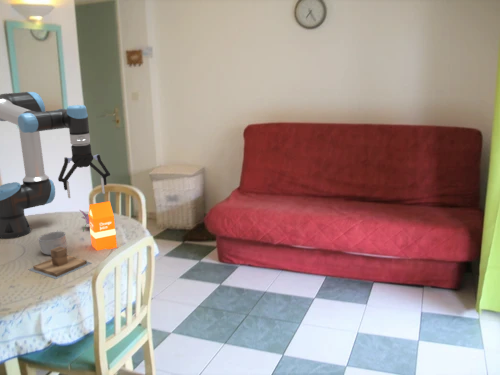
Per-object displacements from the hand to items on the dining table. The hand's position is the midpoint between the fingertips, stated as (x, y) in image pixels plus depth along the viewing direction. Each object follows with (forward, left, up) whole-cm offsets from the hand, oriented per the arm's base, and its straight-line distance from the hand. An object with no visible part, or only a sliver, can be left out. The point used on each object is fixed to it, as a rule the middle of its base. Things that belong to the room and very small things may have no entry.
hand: (86, 195), depth 207 cm
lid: (+3, -18, -24) cm, 30 cm away
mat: (+3, -18, -25) cm, 31 cm away
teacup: (-13, -8, -25) cm, 29 cm away
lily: (-23, +19, -25) cm, 39 cm away
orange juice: (+1, +6, -25) cm, 25 cm away
